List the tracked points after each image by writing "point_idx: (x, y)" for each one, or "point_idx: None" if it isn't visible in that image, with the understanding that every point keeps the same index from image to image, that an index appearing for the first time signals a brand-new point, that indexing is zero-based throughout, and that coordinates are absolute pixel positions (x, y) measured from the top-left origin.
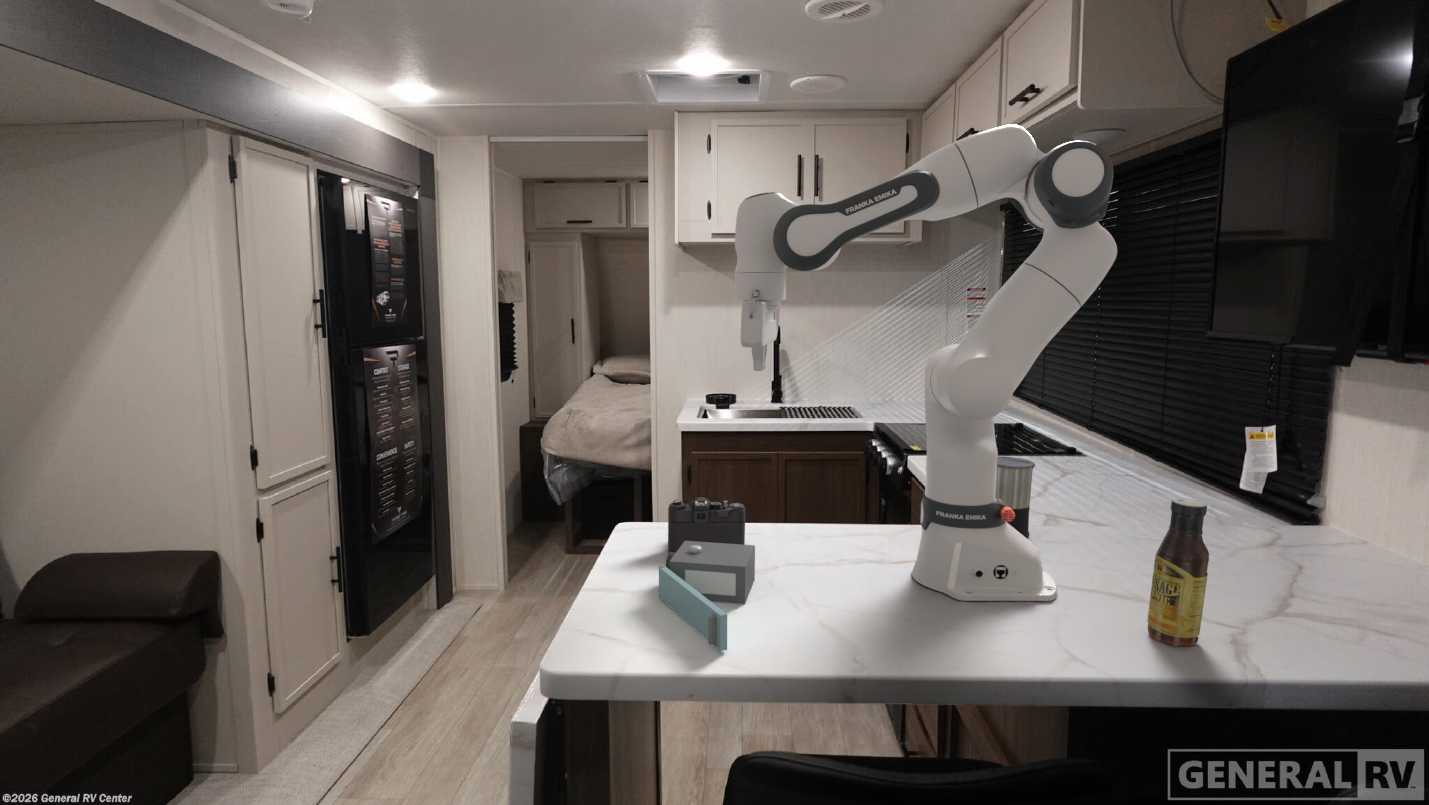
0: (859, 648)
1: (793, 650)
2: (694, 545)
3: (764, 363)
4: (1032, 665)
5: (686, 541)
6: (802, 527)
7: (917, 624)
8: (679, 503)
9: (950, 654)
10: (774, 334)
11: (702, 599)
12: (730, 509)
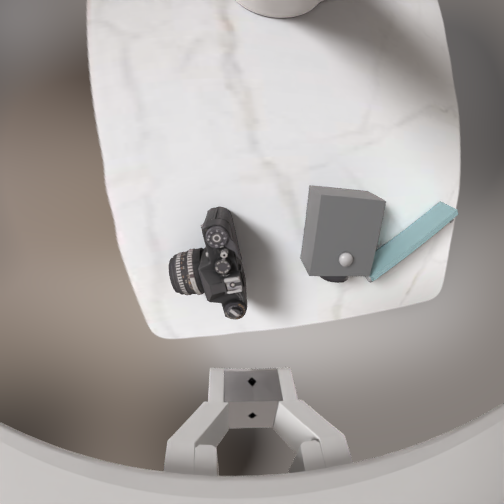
0: (431, 103)
1: (437, 153)
2: (341, 262)
3: (258, 388)
4: (429, 3)
5: (311, 273)
6: (111, 147)
7: (389, 45)
8: (239, 309)
9: (429, 43)
10: (27, 471)
11: (436, 231)
12: (233, 243)
